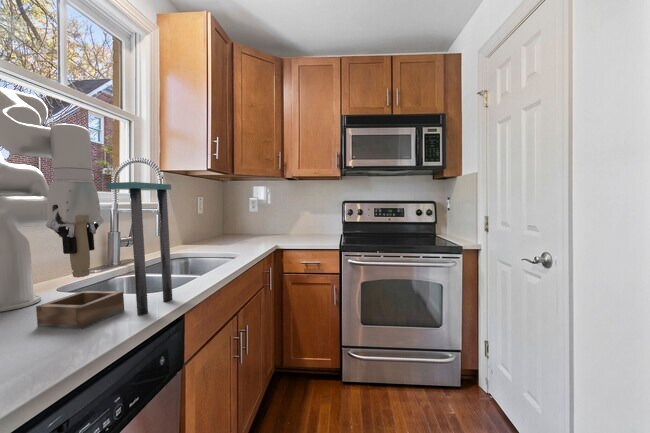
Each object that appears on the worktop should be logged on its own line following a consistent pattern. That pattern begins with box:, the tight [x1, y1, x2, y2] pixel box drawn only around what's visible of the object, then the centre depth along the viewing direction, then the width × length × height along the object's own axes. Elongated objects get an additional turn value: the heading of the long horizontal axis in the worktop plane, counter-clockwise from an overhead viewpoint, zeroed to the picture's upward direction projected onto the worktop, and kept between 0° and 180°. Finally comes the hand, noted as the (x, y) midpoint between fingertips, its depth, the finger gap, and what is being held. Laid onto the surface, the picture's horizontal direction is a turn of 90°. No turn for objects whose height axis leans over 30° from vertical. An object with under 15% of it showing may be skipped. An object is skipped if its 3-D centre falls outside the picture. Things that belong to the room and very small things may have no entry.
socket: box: [35, 290, 125, 330], centre depth 76 cm, size 12×12×5 cm
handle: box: [69, 215, 91, 278], centre depth 75 cm, size 5×6×15 cm
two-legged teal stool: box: [106, 181, 173, 316], centre depth 83 cm, size 8×14×34 cm, turn 172°
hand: (79, 251), depth 75 cm, fingers closed on handle, 4 cm apart
